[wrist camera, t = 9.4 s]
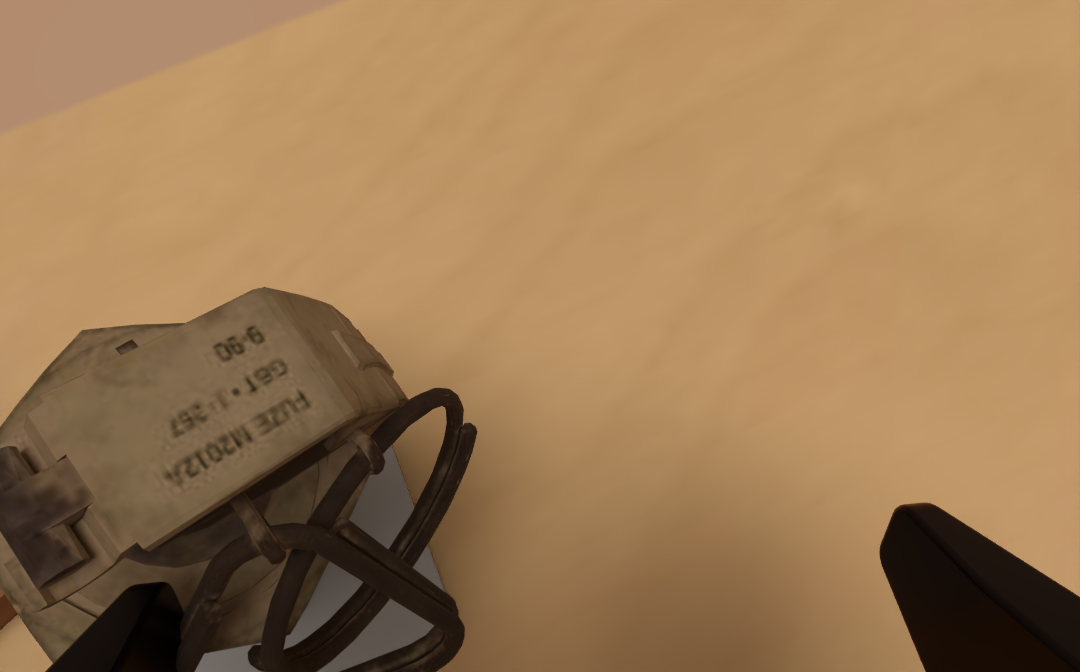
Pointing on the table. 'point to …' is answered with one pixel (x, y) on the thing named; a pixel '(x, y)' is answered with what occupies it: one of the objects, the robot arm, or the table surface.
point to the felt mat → (355, 585)
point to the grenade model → (222, 484)
